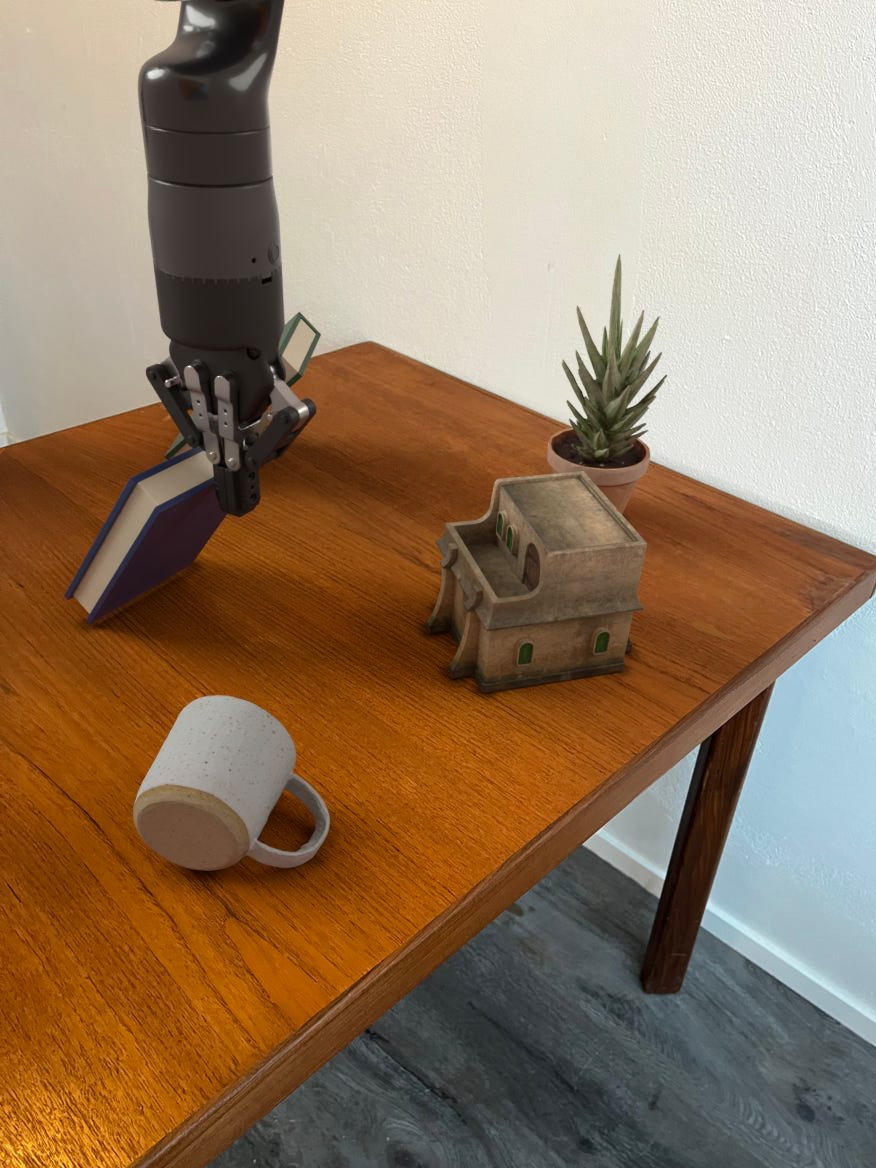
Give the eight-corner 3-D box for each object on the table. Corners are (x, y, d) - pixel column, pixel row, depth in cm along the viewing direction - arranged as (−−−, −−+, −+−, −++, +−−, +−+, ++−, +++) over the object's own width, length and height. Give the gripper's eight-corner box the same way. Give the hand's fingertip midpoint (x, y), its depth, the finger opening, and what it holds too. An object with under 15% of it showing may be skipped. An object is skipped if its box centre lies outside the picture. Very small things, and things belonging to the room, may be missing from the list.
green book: (321, 334, 100) (299, 311, 98) (302, 376, 91) (277, 351, 89) (215, 430, 106) (193, 410, 105) (188, 478, 97) (163, 457, 96)
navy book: (270, 454, 74) (242, 423, 74) (160, 512, 66) (129, 477, 66) (191, 564, 85) (168, 537, 85) (89, 625, 77) (63, 595, 77)
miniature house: (573, 574, 89) (592, 456, 82) (645, 671, 78) (673, 544, 72) (409, 595, 84) (415, 471, 77) (462, 700, 74) (473, 568, 67)
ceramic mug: (130, 868, 59) (115, 773, 54) (184, 773, 65) (174, 681, 61) (307, 901, 58) (306, 808, 54) (344, 801, 65) (346, 710, 60)
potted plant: (560, 483, 103) (596, 231, 88) (649, 508, 100) (701, 252, 85) (522, 524, 95) (554, 256, 81) (617, 553, 92) (667, 280, 78)
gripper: (89, 246, 60) (130, 503, 70) (261, 292, 55) (278, 563, 65) (180, 223, 66) (205, 465, 76) (344, 264, 61) (348, 517, 71)
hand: (239, 510), depth 70 cm, fingers closed
